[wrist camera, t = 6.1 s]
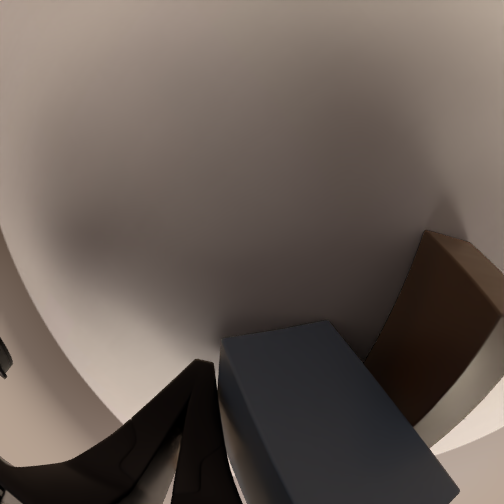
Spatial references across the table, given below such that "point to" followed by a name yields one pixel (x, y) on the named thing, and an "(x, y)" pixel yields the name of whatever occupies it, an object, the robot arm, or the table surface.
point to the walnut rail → (442, 336)
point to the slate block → (318, 425)
